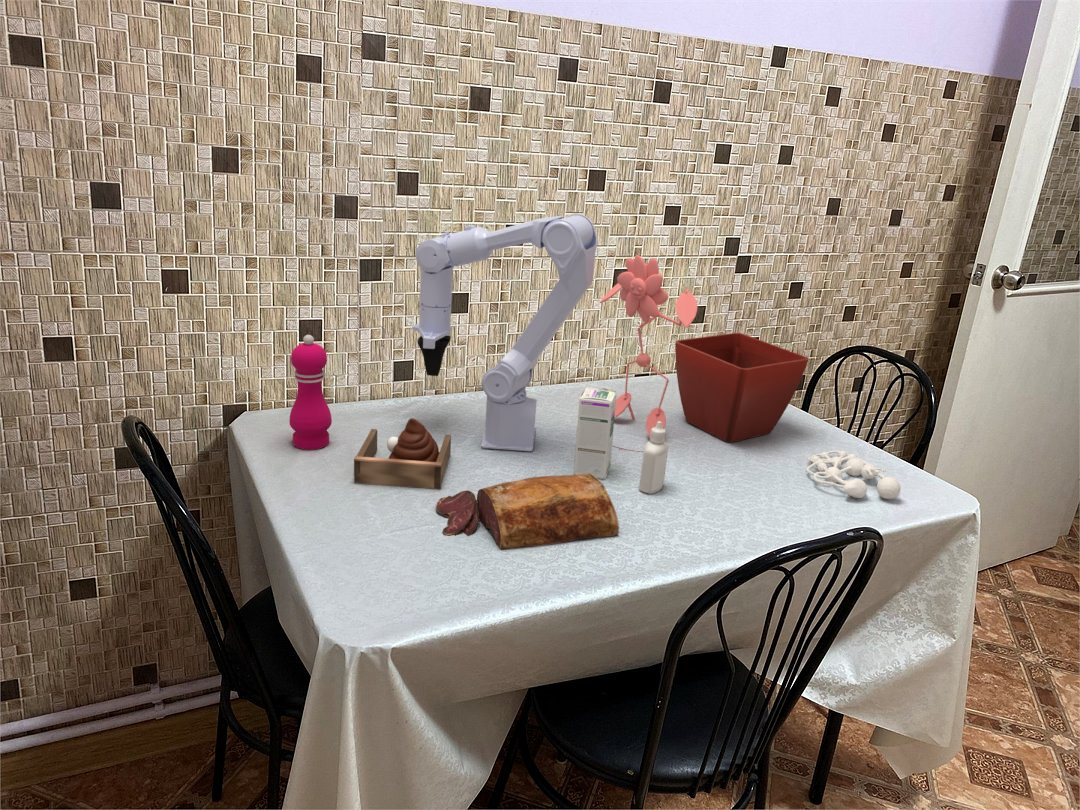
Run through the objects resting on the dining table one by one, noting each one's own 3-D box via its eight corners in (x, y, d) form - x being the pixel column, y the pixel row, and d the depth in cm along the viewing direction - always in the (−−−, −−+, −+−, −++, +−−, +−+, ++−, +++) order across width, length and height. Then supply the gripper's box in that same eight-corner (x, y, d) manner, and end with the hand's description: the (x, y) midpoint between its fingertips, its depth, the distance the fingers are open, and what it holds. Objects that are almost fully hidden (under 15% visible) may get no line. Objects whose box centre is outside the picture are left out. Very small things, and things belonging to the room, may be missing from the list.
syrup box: (605, 480, 145) (614, 401, 140) (572, 475, 146) (579, 396, 141) (610, 467, 150) (618, 390, 145) (577, 462, 151) (584, 385, 146)
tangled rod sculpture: (787, 461, 161) (788, 441, 160) (860, 459, 162) (863, 439, 161) (825, 506, 143) (827, 483, 142) (908, 502, 144) (911, 480, 143)
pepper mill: (281, 445, 149) (277, 336, 142) (306, 432, 155) (304, 326, 148) (315, 454, 146) (313, 343, 139) (340, 440, 152) (338, 333, 145)
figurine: (610, 405, 180) (625, 240, 167) (698, 449, 161) (722, 267, 148) (552, 418, 171) (563, 245, 158) (638, 466, 152) (659, 274, 139)
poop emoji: (416, 484, 138) (417, 432, 135) (375, 471, 142) (375, 419, 139) (451, 464, 146) (453, 414, 143) (411, 452, 150) (412, 403, 147)
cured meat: (423, 504, 132) (424, 464, 130) (567, 485, 142) (571, 449, 140) (459, 564, 117) (461, 521, 115) (617, 539, 127) (623, 499, 124)
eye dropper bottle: (672, 490, 143) (681, 424, 139) (645, 495, 140) (653, 429, 136) (656, 479, 146) (665, 415, 142) (630, 484, 144) (637, 419, 139)
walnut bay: (450, 455, 150) (451, 433, 148) (440, 489, 137) (441, 465, 135) (371, 449, 150) (371, 427, 148) (354, 482, 137) (353, 458, 135)
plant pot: (796, 437, 170) (811, 357, 164) (729, 453, 160) (743, 368, 154) (727, 406, 185) (739, 331, 179) (662, 419, 174) (672, 340, 168)
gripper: (419, 293, 160) (417, 361, 165) (406, 312, 147) (404, 385, 151) (457, 296, 160) (453, 364, 165) (447, 315, 147) (444, 388, 151)
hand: (432, 374), depth 158 cm, fingers closed
